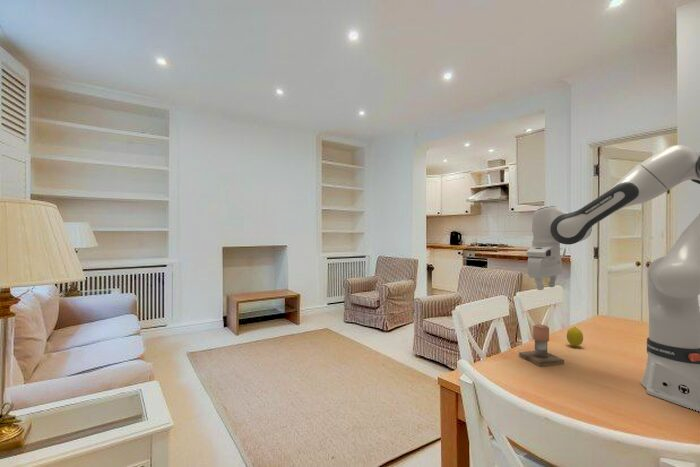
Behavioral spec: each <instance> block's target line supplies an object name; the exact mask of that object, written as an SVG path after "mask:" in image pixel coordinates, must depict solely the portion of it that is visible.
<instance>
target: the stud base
mask: <svg viewBox="0 0 700 467" xmlns="http://www.w3.org/2000/svg"><path fill="white" fill-rule="evenodd" d="M518 354H519V355H518V356H519V357H520V358H522V359H524V360H525V361H528V362H530V363H532V364H534V365H536V366H538V367H540V368H542V367H550V366H551V367H552V366H558V365H559V366H560V365H564V364H565V359H563V358H561V357H559V356H557V355H554V354H552V353H549V352H548V342H542V341H537V340H534V350H530V351H529V350H528V351H520V352H518Z"/></svg>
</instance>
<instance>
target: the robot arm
mask: <svg viewBox="0 0 700 467" xmlns="http://www.w3.org/2000/svg"><path fill="white" fill-rule="evenodd" d="M689 180H691V182H694V183H695V184H698V185H700V152H698V151H696V150H695V149H693V148H692V147H690V146H687V145H684V144H674V145H671V146H669V147H667V148H664V149H663V150H661V151H659V152H657V153H656V154H654V155H652V156H650V157H647V158H646V159H645V160H643V161H642V162H640V163H639V164H637V165H636V166H634V167H633V168H631V169H630V170H629V171H628V172H627V173H626V174H624V175H623V176H622V177H621V178H620V179H619V180H618V181H616V183H615V184H613V186H611V187H610V188H609V189H608V190H607V191H606V192H604V193H603V194H601V195H600V196H598V197H597V198H595V199H593V200H592V201H590V202H589V203H587V204H586V205H584V206H583V207H581V208H579V209H577V210H576V211H572V212H567V211H566V210H563V209H561V208H559V207H558V206H556V205H555V206H554V205H553V206H552V205H551V206H545V207H540V208H537V209H536V210H535V211H534V212H533V216H532V226H531V228H532V229H531V232H532V234H533V236H532V237H533V238H532V242H531V246H530V248H528V249H527V250H526V256H527V257H528V258H527V275H528V276H529V277H528V278H531V279H534V281H535V282H534V283H535V284H536V290H538V291H543V290H544V288H545V285H544V284H543V281H544V279H545V278H547V277H548V278H549V280H548V283H547V284H548V288H555V287H556V281H557V278H558V276H559V275H562V273H563V263H562V262H563V260H562V256H561V244H562V245H574V244H577V243H579V242H583V241H584V240H587V238H589V237H590V236H591V234H592V231H593V226H594V225H596V224H597V223H599V222H601V221H603V220H605V218H607V217H609V216H610V215H612V214H614V213H615V212H617V211H619V210H621V209H624V208H627V207H631V206H634V205H635V206H636V205H640V204H643V203H647V202H648V201H651V200H654V199H655V198H657V197H659V196H661V195H663V194H665V193H667V192H668V191H670V190H671V189H672V188H675V187H676V186H677V185H680V184H681V183H683V182H686V181H689ZM646 271H647V275H646V279H647V299H648V302H647V303H648V337H647V338H646V352H647V360H646V361H647V362H646V366H645V367H646V368H645V371H644V374H643V377H642V380H641V385H642V387H643V388H645V391H646V393H647V394H648V395H651V396H653V397H656V398H659V399H662V400H665V401H667V402H669V403H673V404H676V405H679V406H681V407H685V408H687V409H689V408H690V409H689V410H692V409H693V410H692V411H695V410H696V412H698V411H699V412H698V413H700V303H699V302H700V301H699V295H700V213H698V214H697V216H696V217H695V218H694V219H693V220H692V221H691V222H690V224H689V225H688V226H687V227H686V228H685V229H684V230H683V232H681V234H680V236H679V237H678V238H677V240H676V241H675V243H674V244H673V245H672V247H671V248H670V250H669V251H668V252H667V253H666V254H665V256H662V257H658V258H656V259H654V260H653V261H652V262H651V263H650V264H649V266H648V268H647V270H646ZM557 275H558V276H557Z"/></svg>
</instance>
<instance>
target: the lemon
mask: <svg viewBox="0 0 700 467" xmlns="http://www.w3.org/2000/svg"><path fill="white" fill-rule="evenodd" d="M566 339H567V340H566V341H567V342H568V343H569V344H570V345H572V346H573V347H574V348H576V347H577V346H581V345H582V343H583V341H584V334H583V332H582V331H581V330H580V329H579V328H577V327H576V326H573V327H571V328H569V329H568V330H567V332H566Z"/></svg>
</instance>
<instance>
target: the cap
mask: <svg viewBox="0 0 700 467" xmlns="http://www.w3.org/2000/svg"><path fill="white" fill-rule="evenodd" d="M532 326H533V327H532V331H533V333H532V334H533V335H532V338H533V339H532V340H534V341H535V340H537V341H542V342H547V343H548V342H549V341H550V326H548V325H545V324H535V325H532Z"/></svg>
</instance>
